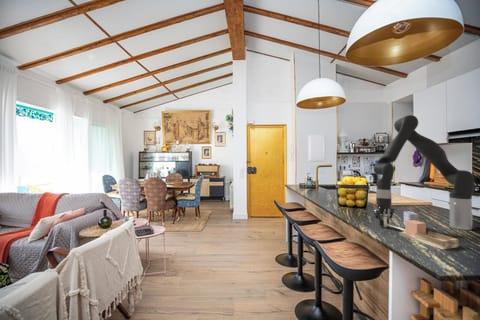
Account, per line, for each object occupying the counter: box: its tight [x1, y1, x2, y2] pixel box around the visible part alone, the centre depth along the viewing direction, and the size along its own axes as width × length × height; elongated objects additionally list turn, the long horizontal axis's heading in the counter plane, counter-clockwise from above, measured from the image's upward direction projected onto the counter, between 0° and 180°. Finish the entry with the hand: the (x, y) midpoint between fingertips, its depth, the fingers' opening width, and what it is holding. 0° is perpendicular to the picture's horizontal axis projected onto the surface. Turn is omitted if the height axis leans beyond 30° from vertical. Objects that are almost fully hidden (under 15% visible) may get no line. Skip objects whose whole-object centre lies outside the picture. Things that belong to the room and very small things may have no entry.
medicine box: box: [403, 210, 420, 227], centre depth 132 cm, size 8×4×9 cm, turn 168°
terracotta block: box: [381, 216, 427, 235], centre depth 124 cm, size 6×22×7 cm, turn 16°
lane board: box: [398, 230, 460, 251], centre depth 110 cm, size 10×20×4 cm, turn 16°
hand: (384, 225), depth 133 cm, fingers open, 3 cm apart
